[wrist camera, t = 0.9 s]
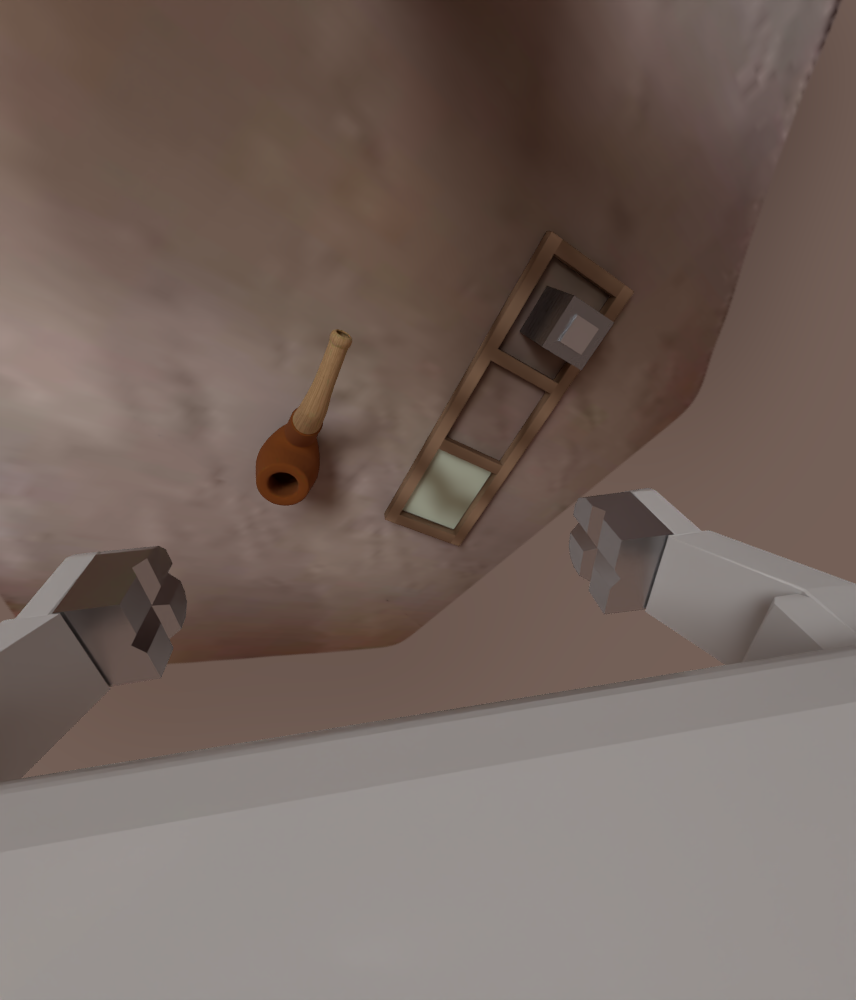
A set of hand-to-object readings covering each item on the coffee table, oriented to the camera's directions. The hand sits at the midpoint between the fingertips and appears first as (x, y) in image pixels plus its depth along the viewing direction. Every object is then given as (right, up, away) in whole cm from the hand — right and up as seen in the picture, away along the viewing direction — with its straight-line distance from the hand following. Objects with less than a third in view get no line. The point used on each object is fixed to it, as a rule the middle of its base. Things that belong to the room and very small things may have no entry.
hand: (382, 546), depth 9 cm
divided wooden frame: (+8, +10, +38) cm, 40 cm away
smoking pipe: (-11, +11, +35) cm, 38 cm away
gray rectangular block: (+13, +18, +34) cm, 41 cm away
